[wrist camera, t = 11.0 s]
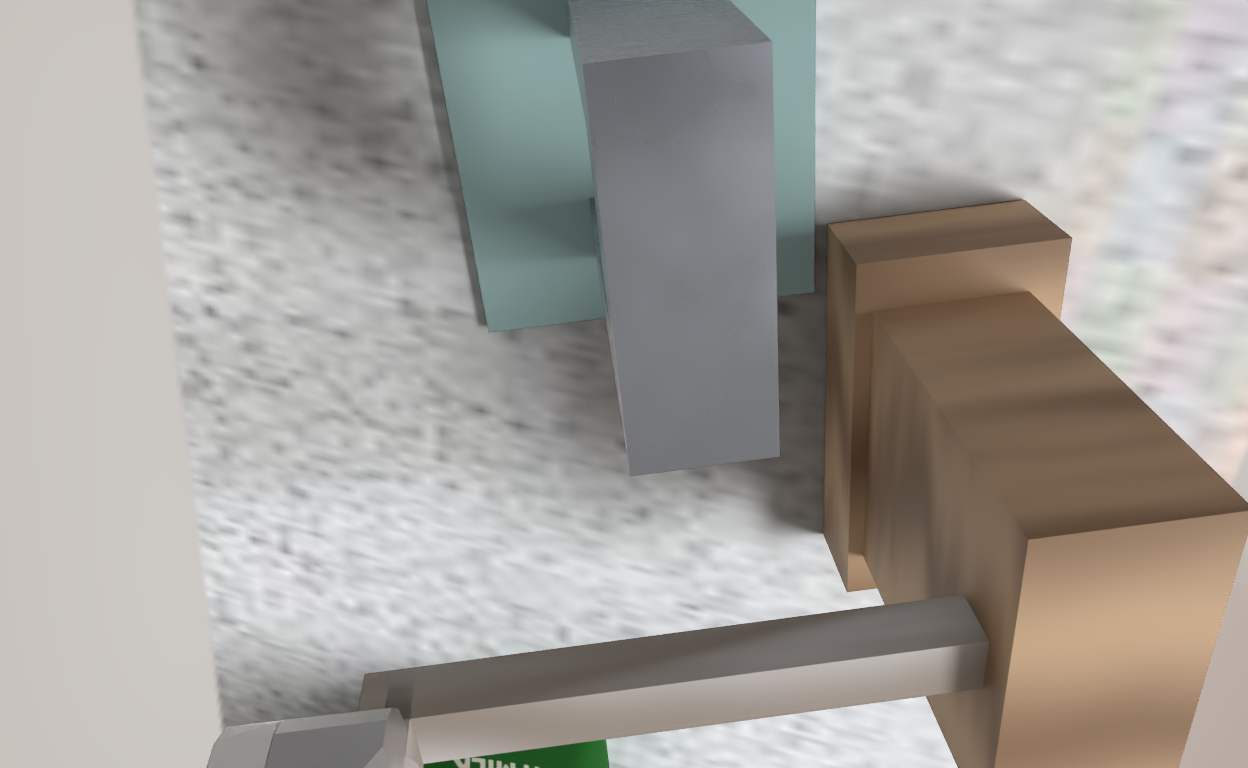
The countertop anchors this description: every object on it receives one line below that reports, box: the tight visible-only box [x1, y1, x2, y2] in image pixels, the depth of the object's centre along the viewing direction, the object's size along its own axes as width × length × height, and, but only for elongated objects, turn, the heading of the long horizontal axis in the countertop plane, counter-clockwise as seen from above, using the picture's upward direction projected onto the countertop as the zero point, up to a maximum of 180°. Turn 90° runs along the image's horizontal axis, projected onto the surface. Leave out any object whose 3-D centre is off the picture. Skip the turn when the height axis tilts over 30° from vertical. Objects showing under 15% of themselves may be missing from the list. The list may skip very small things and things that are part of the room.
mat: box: [427, 0, 816, 332], centre depth 27 cm, size 12×10×1 cm
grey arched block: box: [565, 0, 780, 476], centre depth 22 cm, size 8×3×11 cm, turn 6°
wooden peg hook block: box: [358, 200, 1248, 768], centre depth 27 cm, size 12×20×14 cm, turn 95°
